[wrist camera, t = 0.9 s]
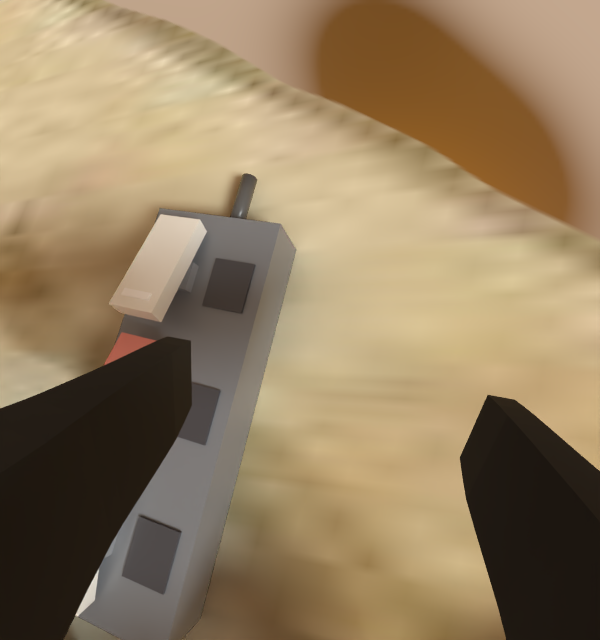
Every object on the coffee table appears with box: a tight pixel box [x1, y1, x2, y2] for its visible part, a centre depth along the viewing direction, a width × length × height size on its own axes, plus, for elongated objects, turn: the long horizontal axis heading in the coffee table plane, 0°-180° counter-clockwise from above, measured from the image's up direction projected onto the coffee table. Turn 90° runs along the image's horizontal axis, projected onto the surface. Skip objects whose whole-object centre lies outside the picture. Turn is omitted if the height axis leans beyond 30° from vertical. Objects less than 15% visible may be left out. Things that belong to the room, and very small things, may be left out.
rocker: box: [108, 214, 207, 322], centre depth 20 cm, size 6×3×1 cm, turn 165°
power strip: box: [77, 174, 296, 640], centre depth 22 cm, size 26×8×4 cm, turn 166°
